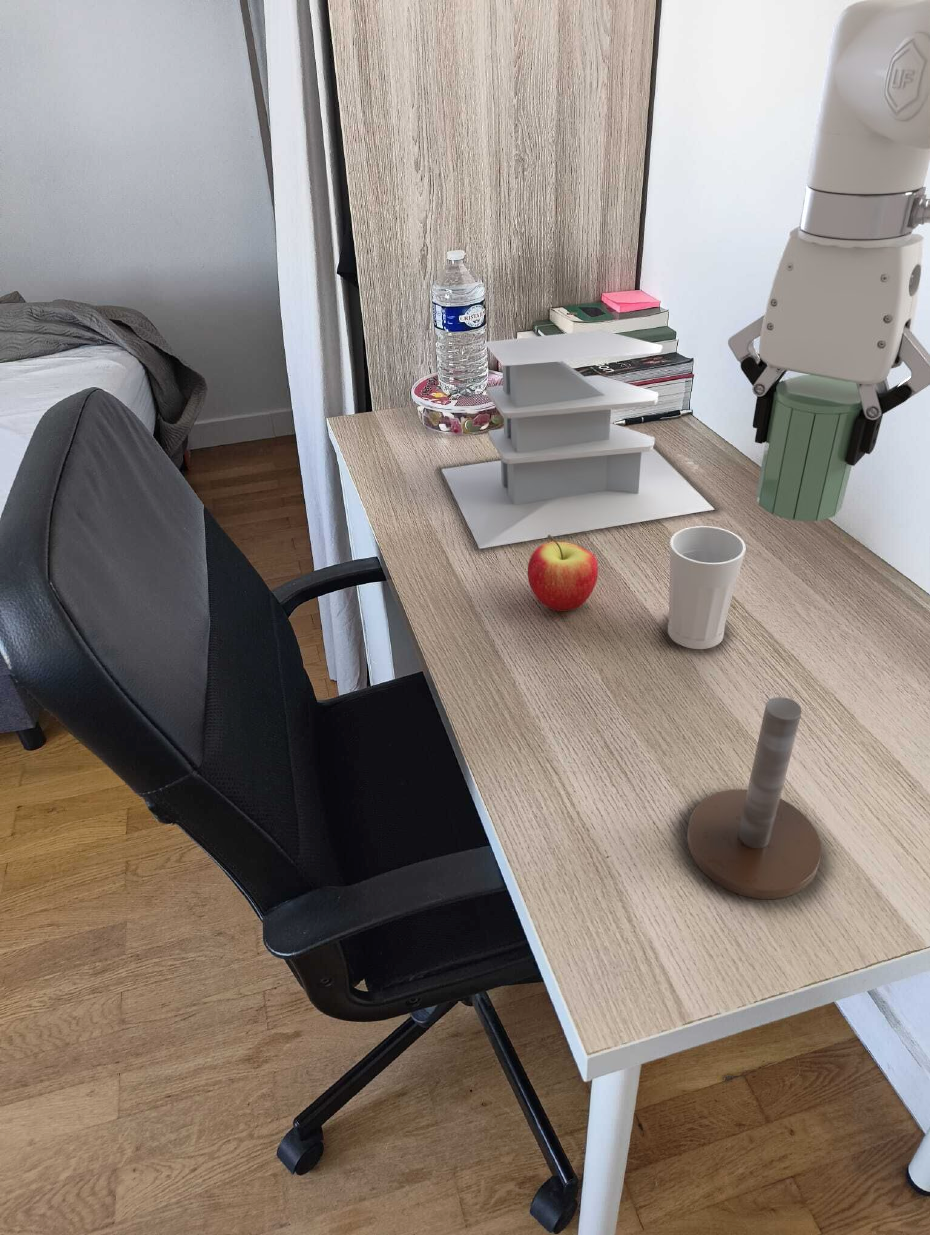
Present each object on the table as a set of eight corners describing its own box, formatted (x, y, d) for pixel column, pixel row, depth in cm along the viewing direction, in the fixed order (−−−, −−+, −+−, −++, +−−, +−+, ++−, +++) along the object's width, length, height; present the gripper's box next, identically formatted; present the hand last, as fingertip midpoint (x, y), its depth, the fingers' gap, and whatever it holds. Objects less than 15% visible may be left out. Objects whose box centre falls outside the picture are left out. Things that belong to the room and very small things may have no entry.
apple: (524, 587, 108) (523, 518, 102) (589, 582, 108) (593, 513, 102) (532, 625, 101) (531, 554, 95) (602, 620, 101) (606, 549, 95)
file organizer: (441, 469, 136) (430, 334, 123) (643, 438, 142) (654, 306, 129) (479, 548, 116) (471, 397, 103) (714, 509, 121) (735, 360, 108)
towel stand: (838, 835, 74) (882, 697, 64) (788, 923, 67) (829, 783, 58) (721, 779, 80) (745, 645, 70) (664, 855, 73) (683, 718, 64)
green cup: (852, 496, 73) (879, 384, 67) (823, 529, 69) (849, 413, 63) (775, 476, 77) (795, 369, 71) (744, 506, 72) (762, 395, 66)
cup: (738, 652, 95) (754, 562, 88) (666, 654, 95) (677, 565, 88) (722, 611, 101) (735, 524, 94) (655, 613, 102) (664, 527, 95)
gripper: (1007, 214, 57) (934, 456, 67) (760, 195, 66) (730, 411, 77) (979, 237, 52) (905, 493, 63) (718, 214, 62) (692, 440, 72)
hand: (809, 446), depth 70 cm, fingers closed on green cup, 6 cm apart
